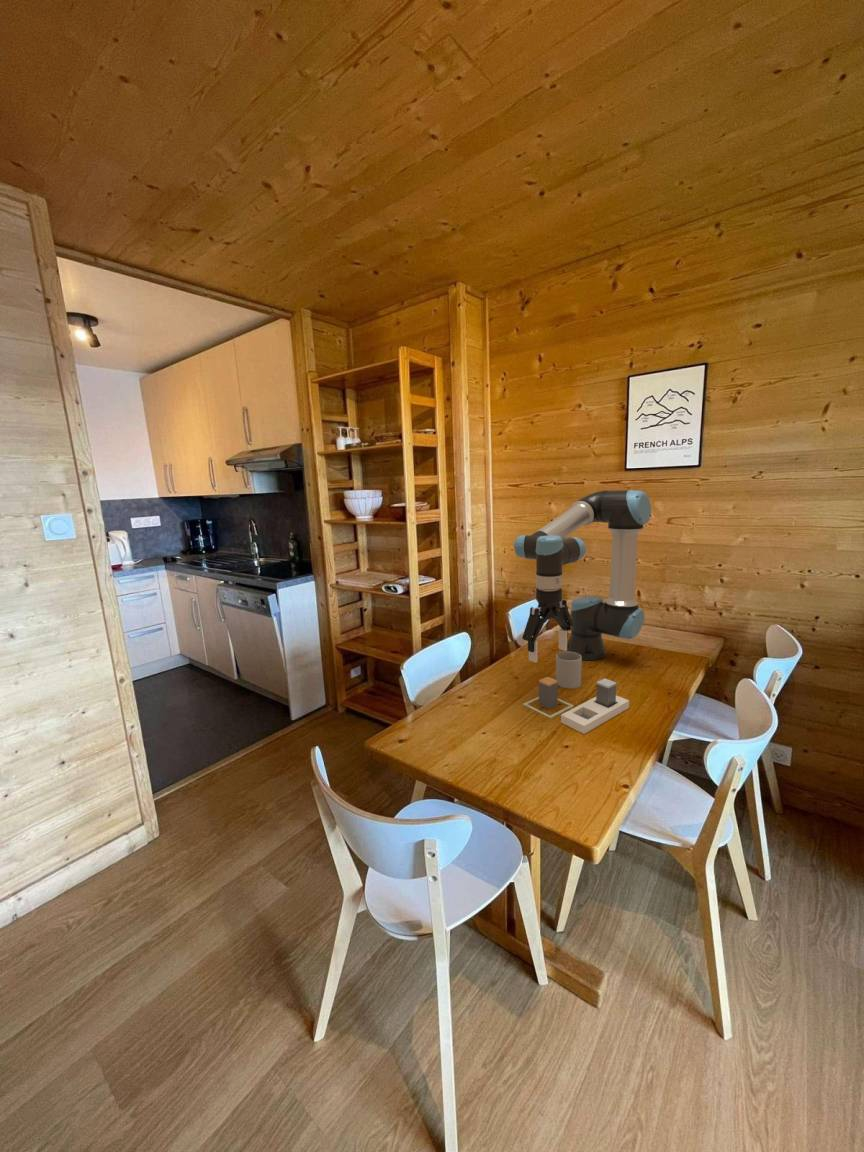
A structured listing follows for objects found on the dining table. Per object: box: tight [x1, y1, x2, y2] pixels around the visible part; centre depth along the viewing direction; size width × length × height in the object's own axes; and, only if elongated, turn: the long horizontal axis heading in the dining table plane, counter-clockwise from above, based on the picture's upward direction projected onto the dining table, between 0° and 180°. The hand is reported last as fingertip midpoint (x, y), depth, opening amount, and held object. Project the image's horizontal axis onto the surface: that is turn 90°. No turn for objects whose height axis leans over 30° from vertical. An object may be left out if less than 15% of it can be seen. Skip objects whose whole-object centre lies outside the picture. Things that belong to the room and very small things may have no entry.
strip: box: [560, 694, 630, 735], centre depth 137 cm, size 8×22×4 cm, turn 126°
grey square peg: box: [595, 677, 617, 708], centre depth 139 cm, size 4×4×9 cm
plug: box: [538, 676, 559, 711], centre depth 144 cm, size 4×4×9 cm
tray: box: [522, 696, 574, 719], centre depth 145 cm, size 11×11×1 cm
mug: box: [555, 650, 583, 689], centre depth 159 cm, size 12×8×11 cm
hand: (548, 655), depth 141 cm, fingers open, 13 cm apart
